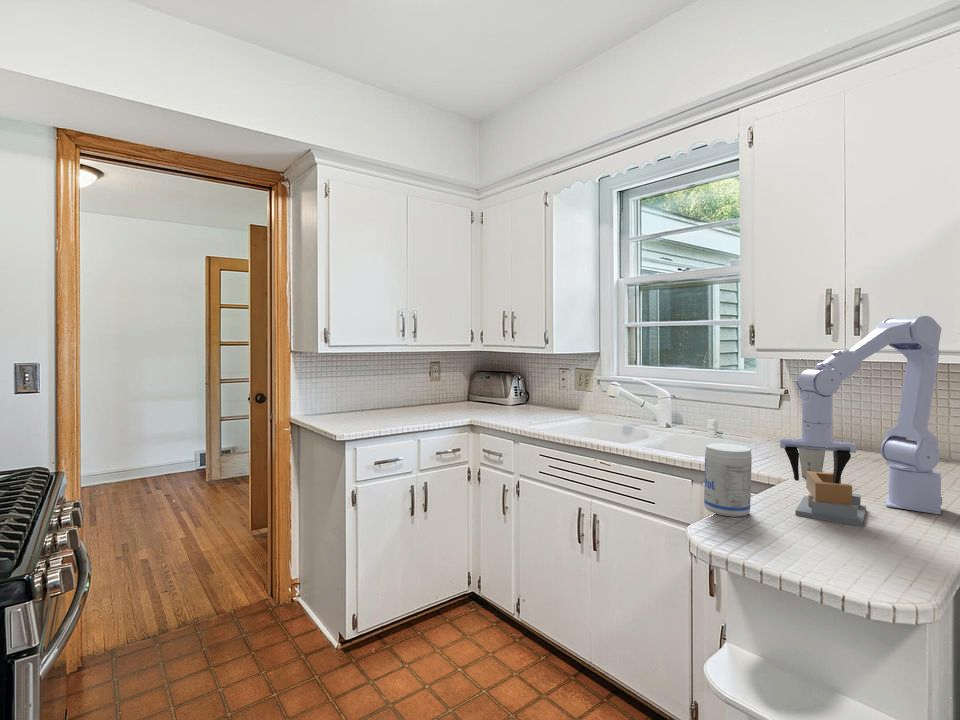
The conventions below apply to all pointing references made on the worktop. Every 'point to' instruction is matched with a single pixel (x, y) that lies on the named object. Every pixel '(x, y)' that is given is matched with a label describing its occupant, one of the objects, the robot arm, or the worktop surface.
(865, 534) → the worktop surface
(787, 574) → the worktop surface
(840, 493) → the tan c-shaped bracket
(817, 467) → the coffee cup
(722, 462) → the supplement tub
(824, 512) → the display stand
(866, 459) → the worktop surface
